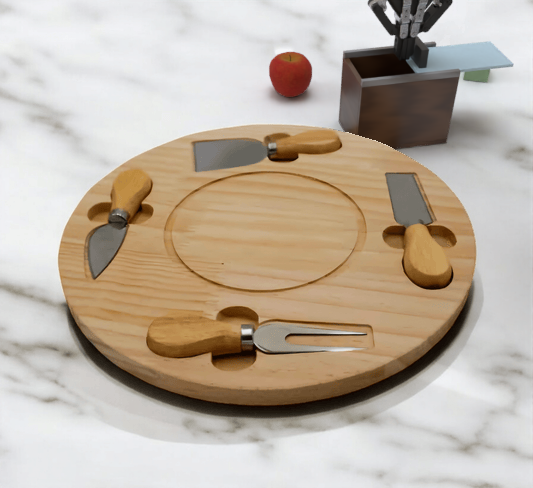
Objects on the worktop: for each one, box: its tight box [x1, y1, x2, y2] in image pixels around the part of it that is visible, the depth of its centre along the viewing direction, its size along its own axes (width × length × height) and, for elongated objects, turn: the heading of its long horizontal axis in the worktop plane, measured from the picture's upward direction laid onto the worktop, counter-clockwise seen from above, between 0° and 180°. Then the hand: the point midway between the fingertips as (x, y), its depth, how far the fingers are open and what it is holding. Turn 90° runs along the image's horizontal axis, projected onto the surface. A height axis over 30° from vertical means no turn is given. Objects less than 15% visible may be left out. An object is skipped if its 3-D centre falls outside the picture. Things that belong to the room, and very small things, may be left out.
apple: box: [268, 51, 313, 98], centre depth 119 cm, size 8×8×8 cm
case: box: [338, 41, 462, 150], centre depth 107 cm, size 16×11×13 cm
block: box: [463, 69, 491, 83], centre depth 124 cm, size 4×4×4 cm
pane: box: [406, 35, 514, 73], centre depth 103 cm, size 16×8×4 cm, turn 101°
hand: (402, 57), depth 102 cm, fingers closed
